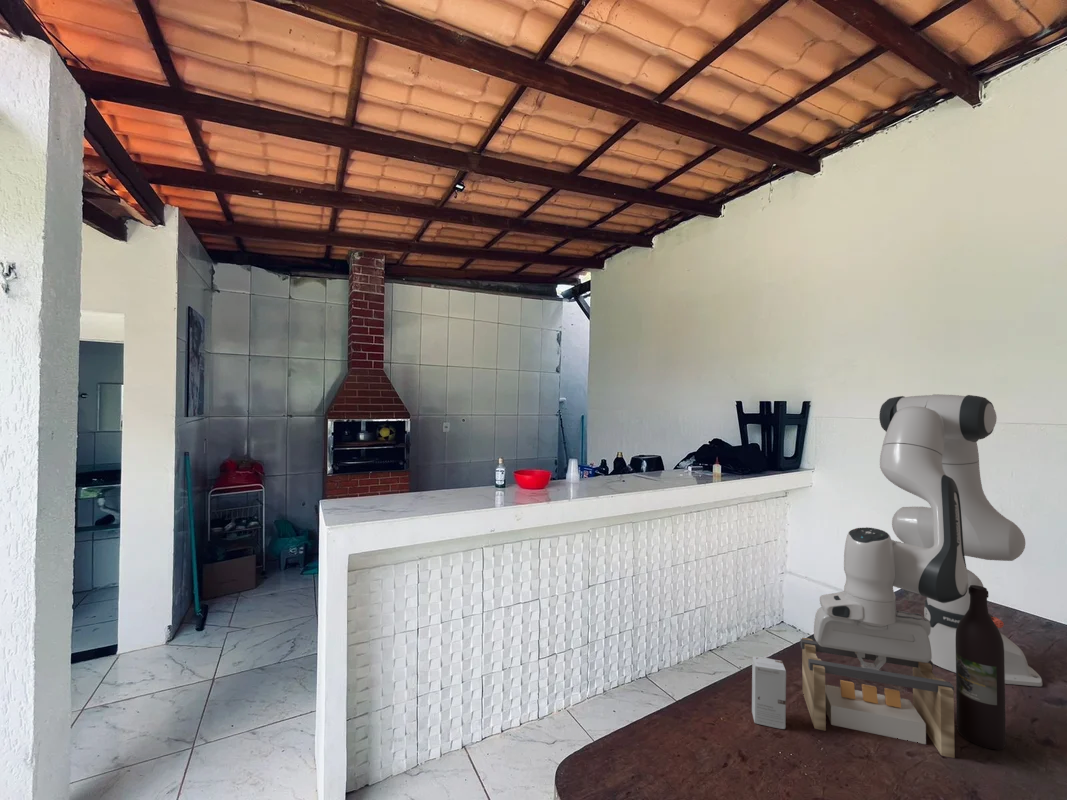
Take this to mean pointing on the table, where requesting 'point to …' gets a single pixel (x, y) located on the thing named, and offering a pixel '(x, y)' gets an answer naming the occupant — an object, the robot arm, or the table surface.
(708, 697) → the table surface
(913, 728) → the breaker strip
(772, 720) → the skincare box
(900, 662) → the long charcoal square rod
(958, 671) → the wine bottle
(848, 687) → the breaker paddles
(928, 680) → the grey bar
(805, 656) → the rack
